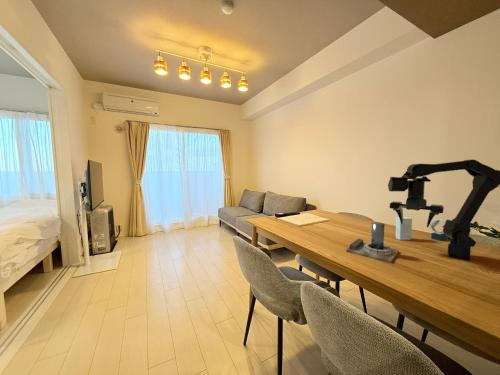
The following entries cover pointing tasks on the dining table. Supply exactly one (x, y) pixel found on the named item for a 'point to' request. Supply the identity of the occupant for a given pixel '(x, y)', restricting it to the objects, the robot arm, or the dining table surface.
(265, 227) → the dining table surface
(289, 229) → the dining table surface
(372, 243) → the dark grey cylinder
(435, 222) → the watch
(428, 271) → the dining table surface
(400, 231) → the skincare box
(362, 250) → the jig
